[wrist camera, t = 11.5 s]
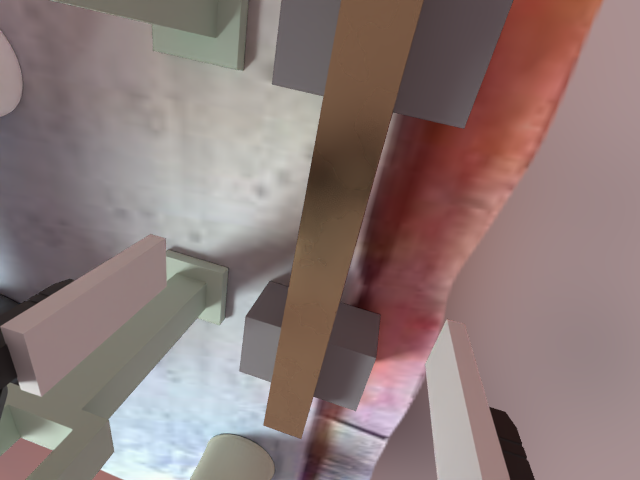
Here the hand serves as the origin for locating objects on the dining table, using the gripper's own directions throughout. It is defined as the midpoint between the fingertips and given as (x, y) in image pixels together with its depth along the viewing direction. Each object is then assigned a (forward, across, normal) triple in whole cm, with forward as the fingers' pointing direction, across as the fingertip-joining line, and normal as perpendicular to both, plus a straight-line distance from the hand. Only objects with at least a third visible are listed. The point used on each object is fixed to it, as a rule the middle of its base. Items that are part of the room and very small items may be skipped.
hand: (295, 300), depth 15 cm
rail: (+6, 0, 0) cm, 6 cm away
